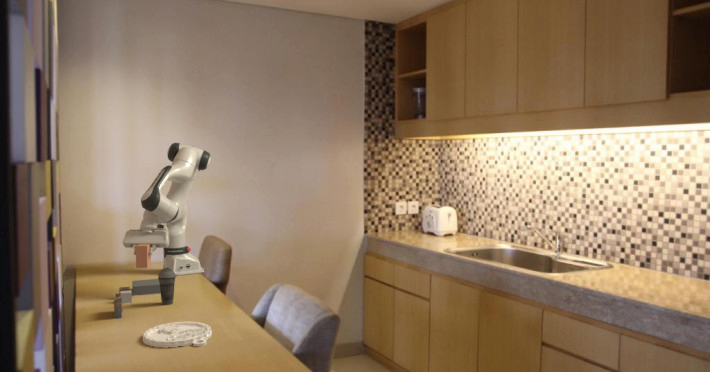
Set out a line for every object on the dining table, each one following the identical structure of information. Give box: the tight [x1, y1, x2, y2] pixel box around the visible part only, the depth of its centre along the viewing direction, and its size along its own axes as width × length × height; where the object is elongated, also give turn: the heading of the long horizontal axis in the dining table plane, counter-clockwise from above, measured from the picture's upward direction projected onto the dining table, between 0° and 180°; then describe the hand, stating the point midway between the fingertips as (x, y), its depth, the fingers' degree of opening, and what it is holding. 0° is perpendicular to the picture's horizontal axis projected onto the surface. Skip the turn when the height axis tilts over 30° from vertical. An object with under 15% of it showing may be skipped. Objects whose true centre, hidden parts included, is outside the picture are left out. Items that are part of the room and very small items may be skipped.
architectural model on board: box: [113, 293, 123, 320], centre depth 229 cm, size 11×3×10 cm, turn 21°
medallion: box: [142, 320, 213, 349], centre depth 201 cm, size 24×27×2 cm
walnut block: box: [118, 286, 131, 294], centre depth 255 cm, size 4×4×4 cm
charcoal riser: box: [131, 278, 161, 296], centre depth 268 cm, size 13×13×4 cm
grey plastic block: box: [120, 289, 133, 304], centre depth 248 cm, size 4×4×4 cm
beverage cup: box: [157, 257, 177, 306], centre depth 245 cm, size 7×7×20 cm
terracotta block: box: [135, 244, 152, 269], centre depth 258 cm, size 5×5×10 cm
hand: (142, 254), depth 257 cm, fingers closed on terracotta block, 5 cm apart
